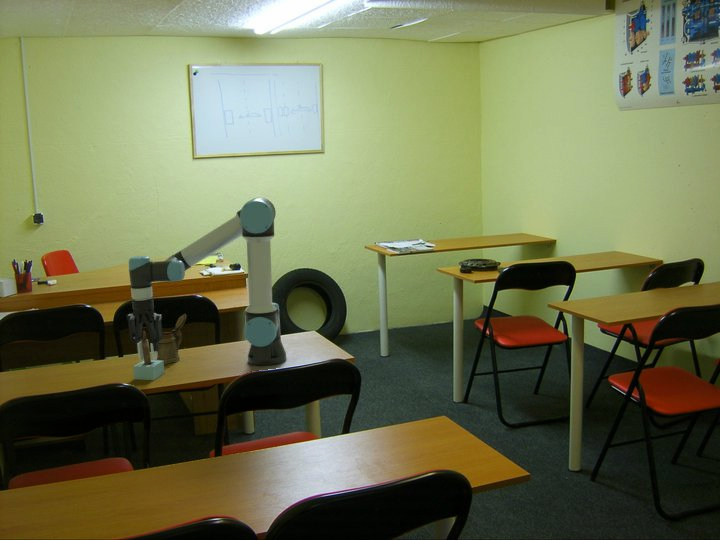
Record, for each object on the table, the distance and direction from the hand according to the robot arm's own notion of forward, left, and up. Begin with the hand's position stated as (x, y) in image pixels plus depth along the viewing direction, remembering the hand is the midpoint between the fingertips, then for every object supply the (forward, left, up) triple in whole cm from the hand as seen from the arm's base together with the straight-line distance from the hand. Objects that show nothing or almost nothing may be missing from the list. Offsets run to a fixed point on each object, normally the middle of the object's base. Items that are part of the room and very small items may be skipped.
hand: (148, 359), depth 260 cm
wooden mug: (+1, -21, -7) cm, 22 cm away
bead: (0, 0, -7) cm, 7 cm away
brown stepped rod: (0, 0, -7) cm, 7 cm away
